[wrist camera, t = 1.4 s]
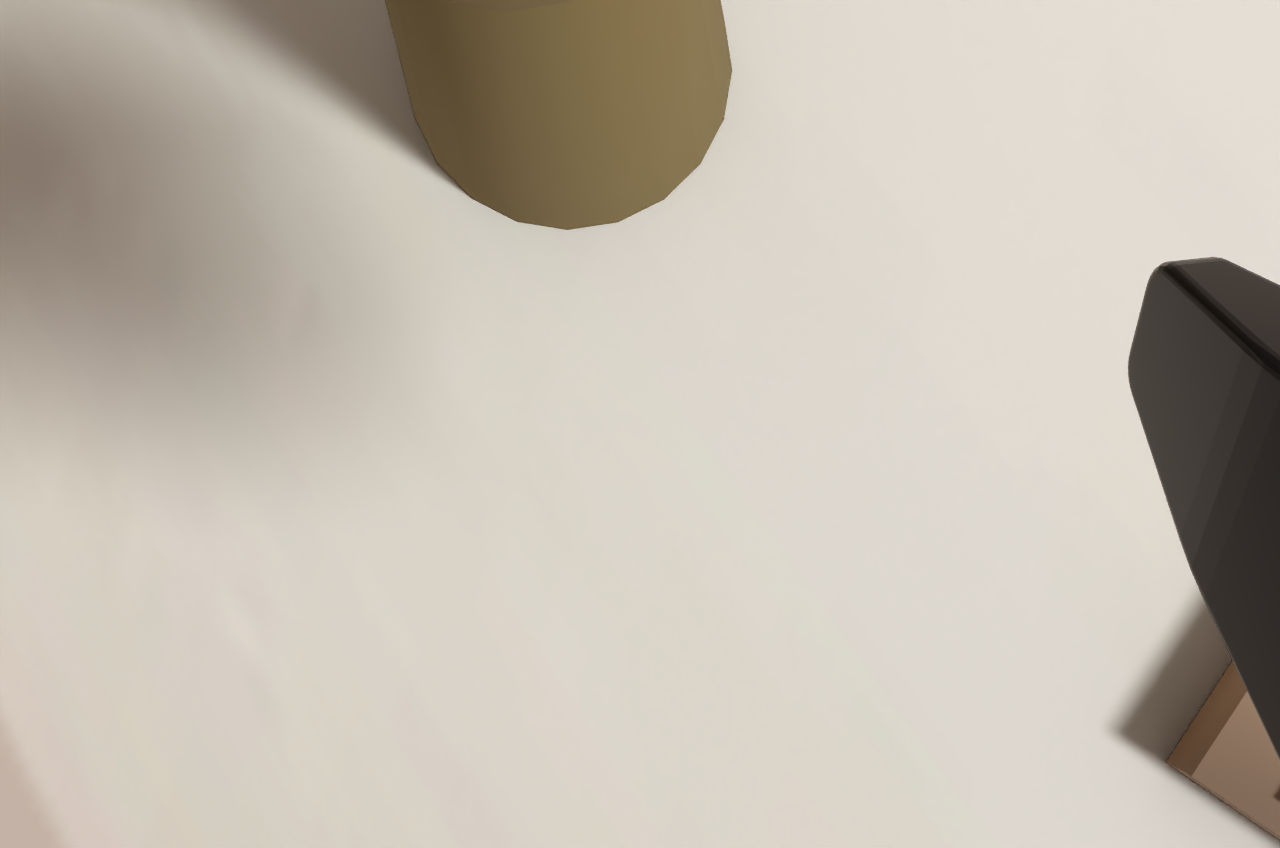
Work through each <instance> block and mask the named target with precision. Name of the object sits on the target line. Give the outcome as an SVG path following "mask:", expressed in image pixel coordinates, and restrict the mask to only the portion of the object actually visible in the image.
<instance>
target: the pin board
mask: <svg viewBox="0 0 1280 848" xmlns="http://www.w3.org/2000/svg"><path fill="white" fill-rule="evenodd" d="M1166 763H1168V764H1169V765H1170V766H1172V767H1173V768H1175V769H1176V770H1178V771H1179V772H1181V773H1182V774H1184V775H1185V776H1187V777H1188V778H1190V779H1191V780H1192V781H1194V782H1195V783H1197V784H1198V785H1200V786H1201V787H1203V788H1204V789H1206V790H1207V791H1209V792H1210V793H1211V794H1213V795H1214V796H1216V797H1217V798H1219V799H1220V800H1222V801H1223V802H1225V803H1226V804H1228V805H1229V806H1231V807H1232V808H1233V809H1235V810H1236V811H1238V812H1239V813H1241V814H1242V815H1244V816H1245V817H1247V818H1248V819H1250V820H1251V821H1253V822H1254V823H1255V824H1257V825H1258V826H1260V827H1261V828H1263V829H1264V830H1266V831H1267V832H1269V833H1270V834H1272V835H1273V836H1275V837H1276V838H1277V839H1279V840H1280V760H1279V758H1278V756H1277V754H1276V751H1275V749H1274V747H1273V745H1272V743H1271V741H1270V739H1269V737H1268V734H1267V732H1266V730H1265V728H1264V726H1263V724H1262V722H1261V720H1260V717H1259V715H1258V713H1257V711H1256V709H1255V707H1254V705H1253V703H1252V701H1251V698H1250V696H1249V694H1248V692H1247V690H1246V688H1245V686H1244V684H1243V681H1242V679H1241V677H1240V675H1239V673H1238V671H1237V669H1236V667H1235V664H1234V662H1233V661H1232V662H1231V664H1230V665H1229V667H1228V668H1227V670H1226V672H1225V673H1224V675H1223V676H1222V678H1221V679H1220V681H1219V682H1218V684H1217V685H1216V687H1215V688H1214V690H1213V691H1212V693H1211V694H1210V696H1209V697H1208V699H1207V700H1206V702H1205V704H1204V705H1203V707H1202V708H1201V710H1200V711H1199V713H1198V714H1197V716H1196V717H1195V719H1194V720H1193V722H1192V723H1191V725H1190V726H1189V728H1188V729H1187V731H1186V732H1185V734H1184V736H1183V737H1182V739H1181V740H1180V742H1179V743H1178V745H1177V746H1176V748H1175V749H1174V751H1173V752H1172V754H1171V755H1170V757H1169V758H1168V760H1167V761H1166Z"/></svg>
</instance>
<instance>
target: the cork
mask: <svg viewBox="0 0 1280 848" xmlns="http://www.w3.org/2000/svg"><path fill="white" fill-rule="evenodd" d="M385 2H386V6H387V10H388V14H389V18H390V22H391V26H392V30H393V34H394V38H395V42H396V46H397V50H398V54H399V57H400V61H401V65H402V69H403V73H404V77H405V81H406V85H407V89H408V93H409V97H410V101H411V105H412V109H413V113H414V117H415V120H416V122H417V124H418V126H419V128H420V130H421V132H422V134H423V136H424V138H425V140H426V142H427V144H428V146H429V148H430V150H431V152H432V154H433V156H434V158H435V160H436V162H437V164H438V165H439V166H440V167H441V168H442V169H443V170H444V171H445V172H446V173H447V174H448V175H449V176H450V177H451V178H452V179H453V180H454V181H455V182H456V183H457V184H458V185H459V186H460V187H461V188H462V189H463V190H464V191H465V192H466V193H467V194H468V195H469V196H470V197H471V198H472V199H474V200H476V201H478V202H480V203H482V204H484V205H486V206H488V207H490V208H491V209H493V210H495V211H497V212H499V213H501V214H503V215H505V216H507V217H509V218H511V219H513V220H515V221H517V222H522V223H529V224H535V225H541V226H547V227H553V228H559V229H566V230H569V229H576V228H582V227H589V226H596V225H602V224H609V223H615V222H619V221H621V220H623V219H625V218H627V217H629V216H631V215H633V214H635V213H637V212H639V211H641V210H643V209H645V208H647V207H649V206H651V205H653V204H655V203H658V202H660V201H662V200H664V199H665V198H666V197H667V196H668V195H669V194H670V193H671V192H672V191H673V190H674V189H675V188H676V187H677V186H678V185H679V184H680V183H681V182H682V181H683V180H684V179H685V178H686V177H687V176H688V175H689V174H690V173H691V172H692V171H693V170H694V169H696V168H697V167H698V166H699V165H700V163H701V162H702V160H703V158H704V156H705V154H706V152H707V150H708V148H709V146H710V144H711V143H712V141H713V139H714V137H715V135H716V133H717V131H718V129H719V127H720V125H721V123H722V122H723V120H724V115H725V109H726V103H727V97H728V91H729V85H730V79H731V73H732V67H731V60H730V54H729V48H728V41H727V35H726V28H725V22H724V17H723V11H722V6H721V1H720V0H385Z"/></svg>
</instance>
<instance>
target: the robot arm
mask: <svg viewBox="0 0 1280 848" xmlns="http://www.w3.org/2000/svg"><path fill="white" fill-rule="evenodd" d="M1128 376H1129V383H1130V388H1131V392H1132V395H1133V398H1134V401H1135V404H1136V407H1137V410H1138V413H1139V416H1140V420H1141V423H1142V426H1143V429H1144V432H1145V435H1146V438H1147V441H1148V444H1149V447H1150V450H1151V453H1152V456H1153V459H1154V462H1155V465H1156V468H1157V471H1158V474H1159V478H1160V481H1161V484H1162V487H1163V490H1164V493H1165V496H1166V499H1167V502H1168V505H1169V508H1170V511H1171V514H1172V517H1173V520H1174V523H1175V526H1176V529H1177V532H1178V536H1179V539H1180V541H1181V544H1182V547H1183V550H1184V552H1185V555H1186V558H1187V561H1188V563H1189V566H1190V569H1191V571H1192V574H1193V576H1194V578H1195V580H1196V583H1197V585H1198V587H1199V590H1200V592H1201V594H1202V596H1203V599H1204V601H1205V603H1206V605H1207V607H1208V609H1209V611H1210V614H1211V616H1212V618H1213V620H1214V622H1215V624H1216V626H1217V628H1218V630H1219V633H1220V635H1221V637H1222V639H1223V641H1224V643H1225V645H1226V647H1227V650H1228V652H1229V654H1230V656H1231V658H1232V660H1233V662H1234V664H1235V667H1236V669H1237V671H1238V673H1239V675H1240V677H1241V679H1242V681H1243V684H1244V686H1245V688H1246V690H1247V692H1248V694H1249V696H1250V698H1251V701H1252V703H1253V705H1254V707H1255V709H1256V711H1257V713H1258V715H1259V717H1260V720H1261V722H1262V724H1263V726H1264V728H1265V730H1266V732H1267V734H1268V737H1269V739H1270V741H1271V743H1272V745H1273V747H1274V749H1275V751H1276V754H1277V756H1278V758H1279V760H1280V285H1278V284H1276V283H1274V282H1272V281H1270V280H1267V279H1265V278H1263V277H1261V276H1259V275H1257V274H1255V273H1253V272H1251V271H1249V270H1246V269H1244V268H1242V267H1240V266H1238V265H1236V264H1234V263H1232V262H1230V261H1228V260H1225V259H1223V258H1217V257H1209V258H1199V259H1189V260H1180V261H1170V262H1165V263H1163V264H1161V265H1160V266H1158V267H1157V268H1156V269H1155V270H1154V271H1153V273H1152V274H1151V276H1150V278H1149V281H1148V284H1147V287H1146V291H1145V295H1144V299H1143V303H1142V307H1141V311H1140V315H1139V319H1138V323H1137V327H1136V331H1135V335H1134V338H1133V342H1132V346H1131V350H1130V355H1129V362H1128Z"/></svg>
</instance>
